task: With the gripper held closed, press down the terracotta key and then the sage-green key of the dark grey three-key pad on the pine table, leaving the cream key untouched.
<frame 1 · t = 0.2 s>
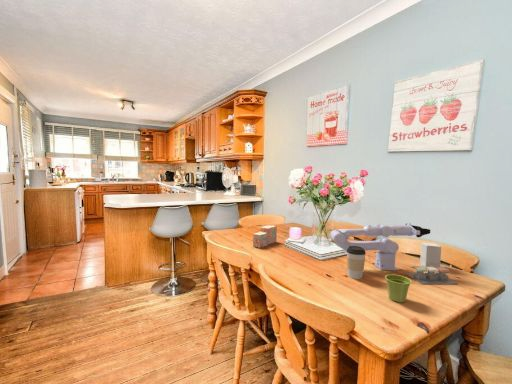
hand: (425, 230, 139), 21 cm above the table, tool horizontal, fingers open, 7 cm apart
key terracotta: (442, 271, 126), point 4 cm above the table, slide at 0.0 cm
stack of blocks: (265, 244, 184), on the table
plant pot: (396, 299, 105), on the table
coffee cup: (355, 276, 128), on the table
keypad base: (430, 278, 126), on the table
key sage: (420, 271, 125), point 4 cm above the table, slide at 0.0 cm
supplement box: (429, 266, 143), on the table
key cream: (431, 271, 125), point 4 cm above the table, slide at 0.0 cm
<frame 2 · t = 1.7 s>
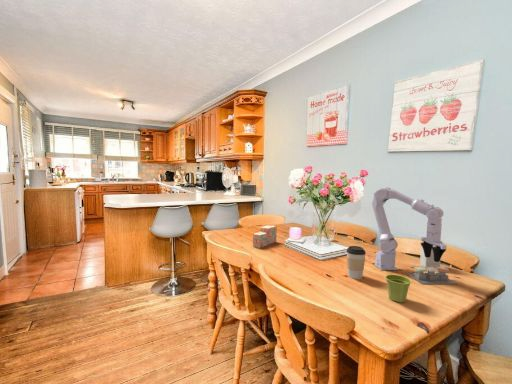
hand: (432, 259, 125), 10 cm above the table, tool pointing down, fingers open, 6 cm apart
nothing on the table moved.
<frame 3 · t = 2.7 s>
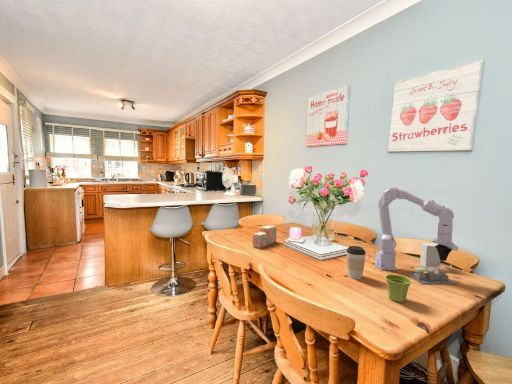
hand: (442, 260, 125), 9 cm above the table, tool pointing down, fingers closed
nothing on the table moved.
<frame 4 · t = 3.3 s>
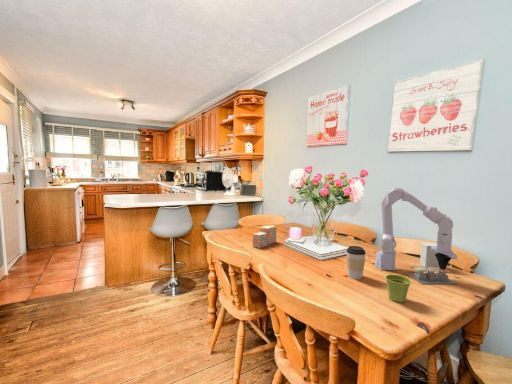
hand: (442, 268, 125), 5 cm above the table, tool pointing down, fingers closed, pressing on key terracotta
key terracotta: (442, 272, 126), point 3 cm above the table, slide at 0.4 cm, touching gripper
everything else where it was.
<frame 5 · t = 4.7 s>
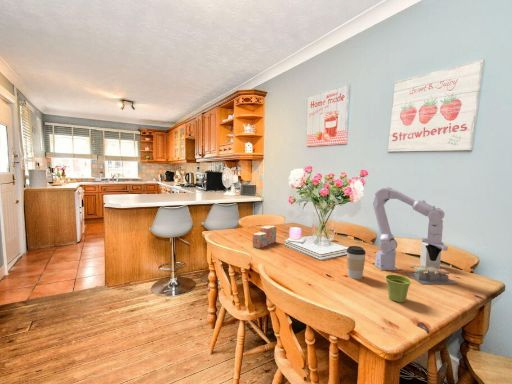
hand: (432, 260, 125), 9 cm above the table, tool pointing down, fingers closed
key terracotta: (442, 274, 126), point 3 cm above the table, slide at 1.2 cm
everything else where it was.
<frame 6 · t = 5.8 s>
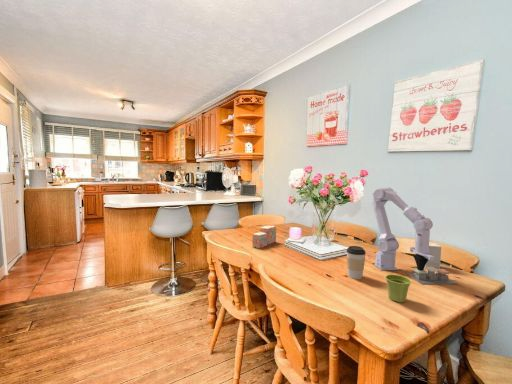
hand: (420, 270, 125), 5 cm above the table, tool pointing down, fingers closed, pressing on key sage
key sage: (420, 273, 125), point 3 cm above the table, slide at 0.9 cm, touching gripper
everything else where it was.
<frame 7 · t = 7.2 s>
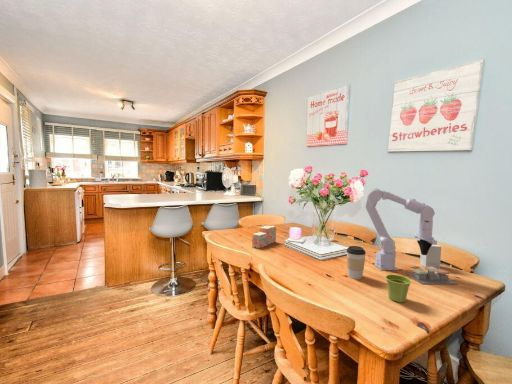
hand: (424, 254, 132), 10 cm above the table, tool pointing down, fingers closed
key sage: (420, 274, 125), point 3 cm above the table, slide at 1.2 cm
everything else where it was.
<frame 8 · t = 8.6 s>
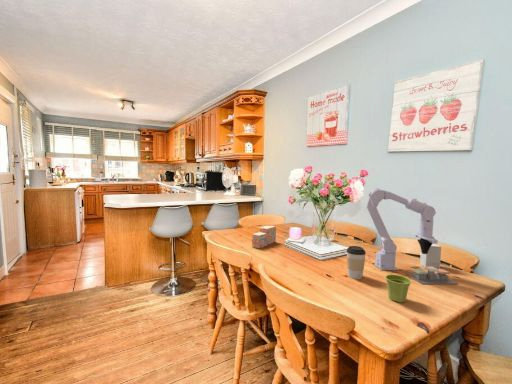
hand: (424, 253, 134), 10 cm above the table, tool pointing down, fingers closed
at the end: key terracotta slide at 1.2 cm; key sage slide at 1.2 cm; key cream slide at 0.0 cm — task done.
